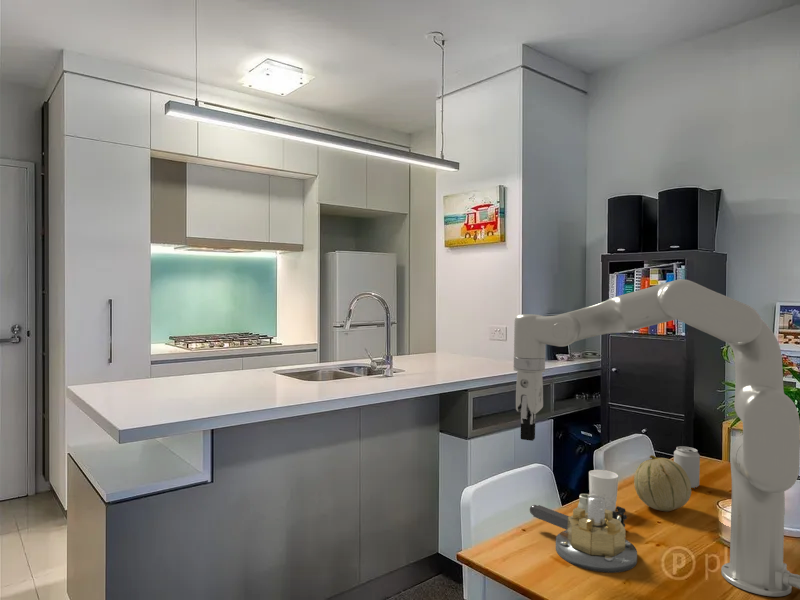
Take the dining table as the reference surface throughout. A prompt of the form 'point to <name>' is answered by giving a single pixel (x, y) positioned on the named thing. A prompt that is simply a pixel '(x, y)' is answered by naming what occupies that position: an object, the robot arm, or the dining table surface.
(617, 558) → the cap plate
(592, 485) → the white cup
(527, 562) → the dining table surface
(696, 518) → the dining table surface
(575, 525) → the castle nut fixture
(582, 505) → the valve
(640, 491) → the cantaloupe
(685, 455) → the can
